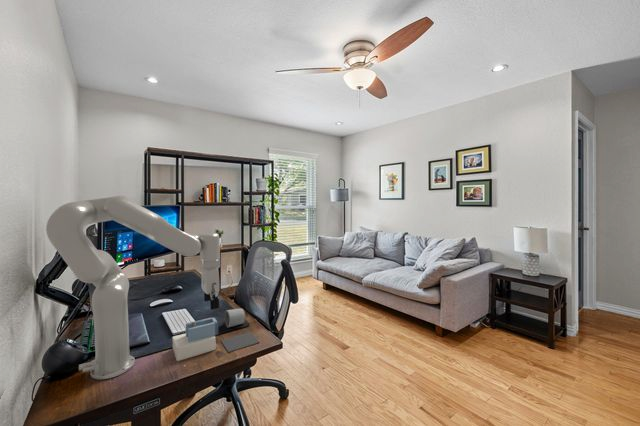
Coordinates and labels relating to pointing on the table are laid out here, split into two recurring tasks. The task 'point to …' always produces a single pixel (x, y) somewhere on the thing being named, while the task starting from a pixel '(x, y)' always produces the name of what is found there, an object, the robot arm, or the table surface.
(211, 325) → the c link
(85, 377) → the table surface
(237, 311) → the white cylinder
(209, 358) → the table surface
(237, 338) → the coaster
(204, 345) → the stand
